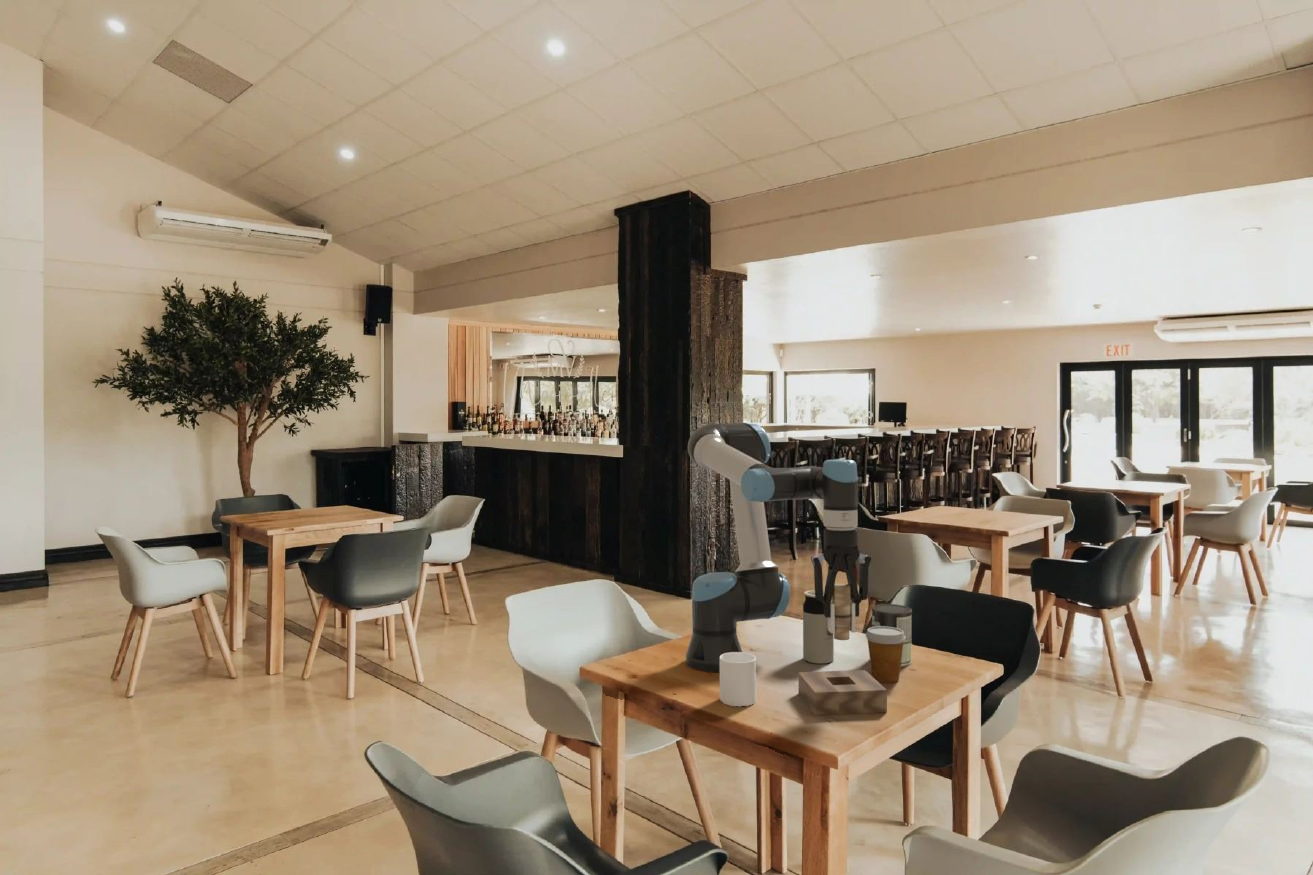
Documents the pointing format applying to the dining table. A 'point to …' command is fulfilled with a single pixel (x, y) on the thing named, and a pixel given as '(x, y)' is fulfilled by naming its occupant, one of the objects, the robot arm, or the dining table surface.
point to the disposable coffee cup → (885, 652)
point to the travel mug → (816, 631)
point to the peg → (842, 611)
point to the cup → (738, 678)
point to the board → (842, 692)
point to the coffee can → (895, 624)
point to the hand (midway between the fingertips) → (841, 630)
